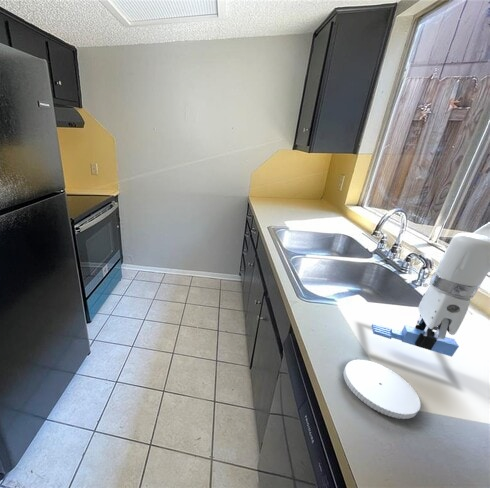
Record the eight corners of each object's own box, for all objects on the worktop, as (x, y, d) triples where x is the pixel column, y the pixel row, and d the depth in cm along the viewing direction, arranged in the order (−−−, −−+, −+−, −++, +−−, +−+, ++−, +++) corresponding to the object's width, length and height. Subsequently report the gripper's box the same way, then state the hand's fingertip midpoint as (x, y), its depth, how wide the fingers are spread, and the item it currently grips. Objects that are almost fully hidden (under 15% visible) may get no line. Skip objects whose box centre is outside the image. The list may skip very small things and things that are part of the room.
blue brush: (447, 348, 68) (453, 338, 66) (452, 358, 65) (459, 347, 63) (371, 325, 75) (375, 316, 73) (373, 333, 72) (377, 323, 71)
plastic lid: (402, 379, 64) (406, 372, 63) (427, 434, 52) (433, 426, 51) (338, 359, 69) (341, 352, 68) (347, 404, 58) (351, 397, 57)
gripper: (493, 308, 53) (451, 371, 61) (460, 273, 66) (428, 329, 74) (444, 297, 56) (410, 358, 64) (421, 266, 69) (395, 320, 77)
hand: (420, 342), depth 69 cm, fingers closed on blue brush, 2 cm apart
